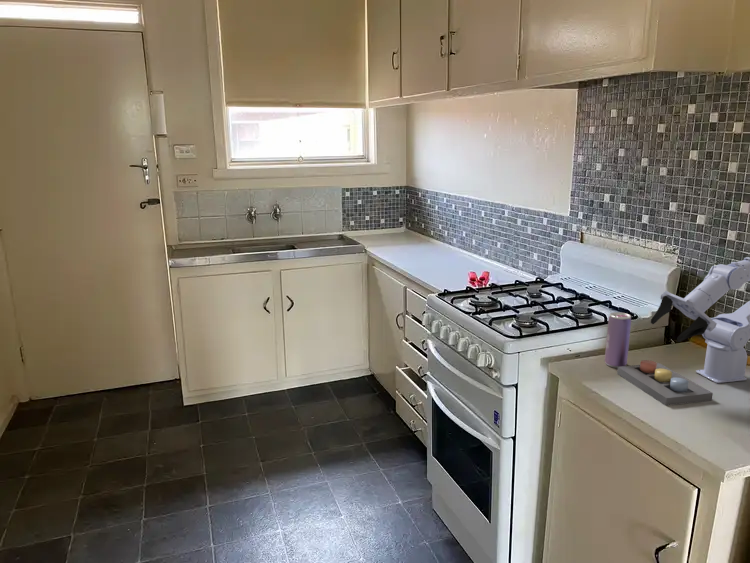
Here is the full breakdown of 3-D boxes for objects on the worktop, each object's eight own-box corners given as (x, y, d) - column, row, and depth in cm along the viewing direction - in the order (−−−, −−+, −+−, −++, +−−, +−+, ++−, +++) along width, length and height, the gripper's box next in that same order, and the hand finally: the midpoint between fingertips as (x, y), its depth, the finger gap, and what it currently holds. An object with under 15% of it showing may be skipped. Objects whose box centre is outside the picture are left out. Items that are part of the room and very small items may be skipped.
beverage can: (628, 369, 162) (633, 318, 158) (606, 367, 163) (611, 317, 159) (624, 361, 167) (629, 312, 164) (602, 359, 169) (607, 311, 165)
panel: (658, 369, 161) (659, 362, 161) (711, 400, 142) (712, 393, 142) (616, 373, 159) (617, 366, 158) (665, 405, 140) (666, 398, 139)
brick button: (649, 366, 158) (650, 359, 157) (659, 372, 154) (660, 365, 154) (636, 368, 157) (637, 360, 157) (646, 373, 153) (646, 366, 153)
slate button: (680, 384, 147) (681, 376, 146) (691, 391, 143) (692, 383, 142) (666, 386, 146) (667, 378, 145) (677, 392, 142) (678, 384, 142)
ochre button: (664, 375, 152) (665, 367, 152) (674, 381, 148) (675, 373, 148) (650, 376, 152) (651, 369, 151) (661, 383, 148) (661, 375, 147)
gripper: (679, 273, 148) (641, 305, 146) (731, 305, 139) (692, 340, 137) (676, 288, 154) (640, 319, 152) (726, 320, 145) (689, 354, 143)
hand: (664, 330), depth 145 cm, fingers open, 7 cm apart
